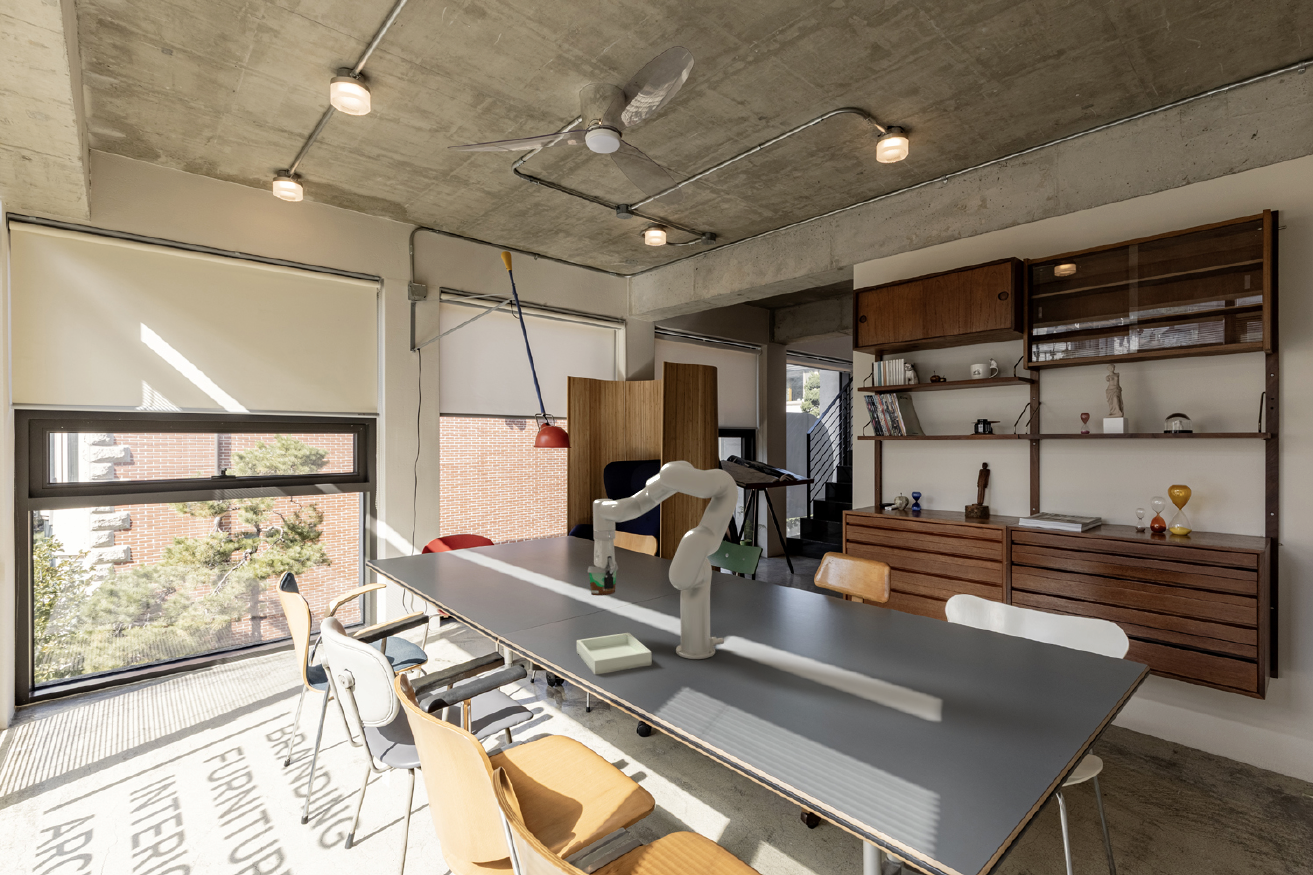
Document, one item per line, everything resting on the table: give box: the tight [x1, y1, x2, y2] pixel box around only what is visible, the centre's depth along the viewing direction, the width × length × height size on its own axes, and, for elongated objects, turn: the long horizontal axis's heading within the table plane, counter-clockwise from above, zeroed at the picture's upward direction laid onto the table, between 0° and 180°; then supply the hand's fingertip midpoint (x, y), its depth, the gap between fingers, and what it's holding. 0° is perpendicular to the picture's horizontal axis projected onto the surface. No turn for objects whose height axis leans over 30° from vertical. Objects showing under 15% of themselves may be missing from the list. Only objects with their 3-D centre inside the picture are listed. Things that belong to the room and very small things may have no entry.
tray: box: [576, 632, 653, 676], centre depth 190 cm, size 18×20×4 cm
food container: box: [587, 561, 619, 597], centre depth 209 cm, size 12×6×10 cm, turn 138°
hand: (605, 585), depth 210 cm, fingers closed on food container, 6 cm apart
